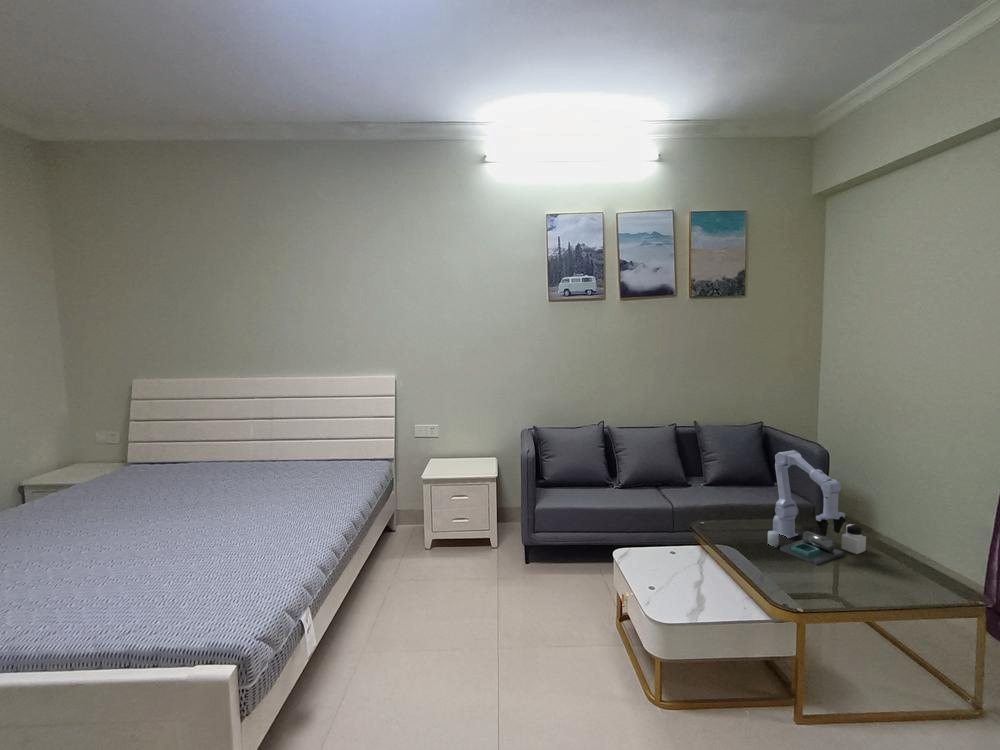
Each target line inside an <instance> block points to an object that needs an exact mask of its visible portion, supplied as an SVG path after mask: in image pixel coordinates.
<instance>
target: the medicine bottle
mask: <svg viewBox="0 0 1000 750" xmlns="http://www.w3.org/2000/svg"><path fill="white" fill-rule="evenodd" d="M862 530H863V529H862V527H861V526H860V525H858V524H855V523H853V524H852V523H849V524H847V525H846V526H845V531H846V532H845V533H843V534H841V550H844V551H847V552H850V553H853V554H854V555H858V554H861V553H865V551H866V550H867V549H866V547H867V536H865V535H862V534H863V531H862Z"/></svg>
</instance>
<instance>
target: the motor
mask: <svg viewBox="0 0 1000 750" xmlns="http://www.w3.org/2000/svg"><path fill="white" fill-rule="evenodd" d="M800 538H801V539H800V540H796V541H794V542H791V543H788V544H784V545H783V546H780V547H779V551H781V552H784V553H786V554H789V555H790V556H794V557H796V558H798V559H800V560H803V561H805V562H808V563H810V564H813V565H815V566H819V565H821V564H824V563H827V562H829V561H831V560H834V559H837V558H840V557H843V556H845V551H843V550H840V549H837V548H836V541H835V540H834V539H831V538H829V537H825V536H824V535H819V534H818V533H817V534H816V533H814V532H811V531H808V530H807V531H803V532H802V533H801V537H800Z"/></svg>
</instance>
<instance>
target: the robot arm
mask: <svg viewBox="0 0 1000 750" xmlns="http://www.w3.org/2000/svg"><path fill="white" fill-rule="evenodd" d="M774 459H775V462H774V463H775V464H774V469H775V475H776V483H777V484H776V485H777V490H778V491H777V492H778V497H779V499H778V500H777V501H776V502H775V508H774V512H775V515H774V516H773V519H772V531H776V532H778V533H779V534H780V535H779V536H781V535H784V536H786V537H787V538H786V537H785V538H786V539H791V538H794V537H796V536H799V533H797V532H795V531H796V529H795V528H796V527H795V525H796V524H795V521H796V520H795V519H796V517H797V516H798V515H799V509H798V508H799V507H798V506H797V503H796V501H795V500H794V499H792V492H791V486H790V485H791V484H790V479H789V478H790V477H789V471H788V469H789V468H790V467H791V466H792V465H793V466H797V467H798V468H800V469H801V470H803V471H804V472H805V473H807V474H808V475H809V478H810V479H811V480H812V481H813V482H814V483H816V484H817V485H818V486H819V487H820V489H821V491H822V495H823V508H822V509H823V511H822V513H821V514H819V515H815V522H816V523H817V526H818V527H819V530H820V534H821V536H827V531H828V530H827V529H828V526H829V524H830V523H829V522H828V521H827V520H832V521H833V531H834V533H836V534H840V533H841V529H842V527H843V525H844V523H845V522H846V513H844V512H841V511H839V492H841V490H842V489H843V487H842V484H841V482H840V481H839V480H838V479H834V478H831V477H830V476H828V475H827V474H826V473H824V472H823V470H822V469H818V468H817V469H816V468H815V467H813V466H812V465H811V464H809V462H807V461H806V460H805V459H804V458H803V457H802V454H801V453H799V452H798V451H797V450H795V449H791V450H788V451H787V450H786V451H779V452H777V453H776V454H775V455H774ZM784 536H783V537H784Z"/></svg>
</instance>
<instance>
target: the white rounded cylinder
mask: <svg viewBox="0 0 1000 750" xmlns="http://www.w3.org/2000/svg"><path fill="white" fill-rule="evenodd" d="M768 544H769V545H771V546H774V547H773V548H779V547H778V546H779V544H780V535H779V533H778V532H776V531H773V530H768V531H767V545H768Z"/></svg>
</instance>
